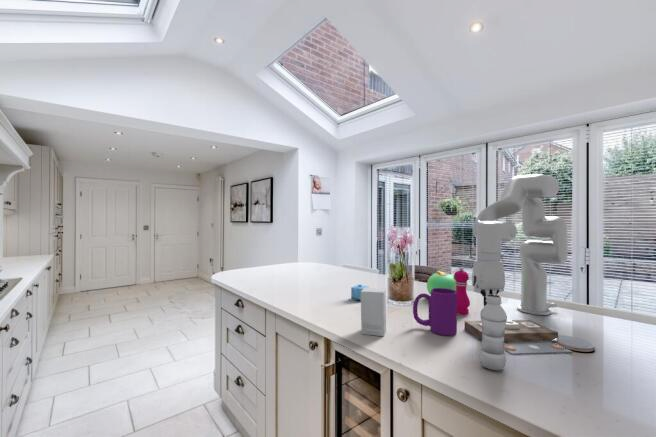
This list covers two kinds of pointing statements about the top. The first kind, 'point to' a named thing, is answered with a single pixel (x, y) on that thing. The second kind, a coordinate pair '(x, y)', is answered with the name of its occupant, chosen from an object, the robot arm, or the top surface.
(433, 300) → the mug
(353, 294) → the teapot
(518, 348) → the pattern card
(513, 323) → the middle button
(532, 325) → the button
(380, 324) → the skincare box
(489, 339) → the plastic bottle
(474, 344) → the top surface
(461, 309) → the pepper mill
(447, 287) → the toy bird
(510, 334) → the button board
